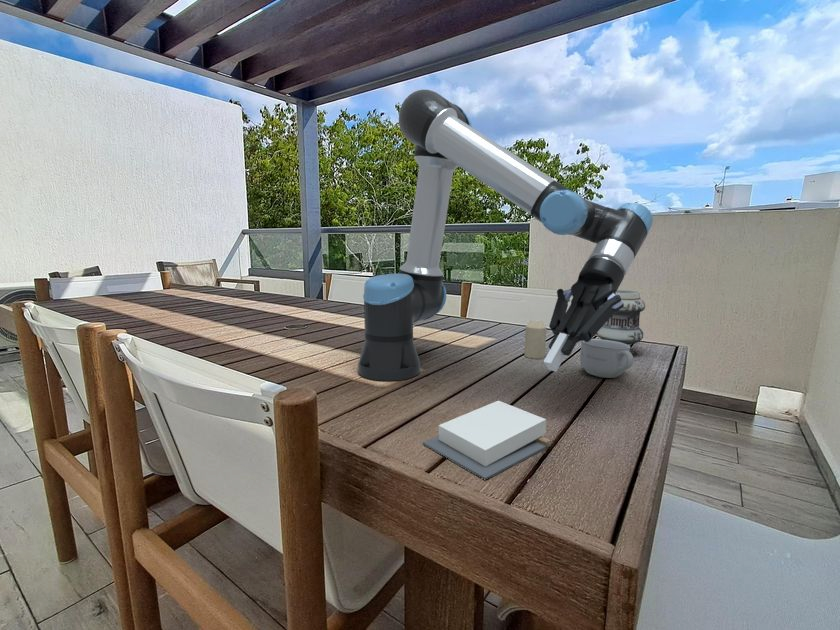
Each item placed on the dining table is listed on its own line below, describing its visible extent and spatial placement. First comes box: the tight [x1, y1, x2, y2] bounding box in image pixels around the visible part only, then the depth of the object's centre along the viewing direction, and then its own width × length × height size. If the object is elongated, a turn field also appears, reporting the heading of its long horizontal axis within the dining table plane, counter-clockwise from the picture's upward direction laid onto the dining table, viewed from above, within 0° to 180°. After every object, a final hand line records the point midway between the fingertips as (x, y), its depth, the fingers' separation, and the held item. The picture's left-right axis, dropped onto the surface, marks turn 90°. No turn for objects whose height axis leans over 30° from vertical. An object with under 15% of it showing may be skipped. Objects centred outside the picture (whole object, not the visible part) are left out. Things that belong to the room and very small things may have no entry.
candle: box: [523, 320, 547, 360], centre depth 116 cm, size 6×6×10 cm
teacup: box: [579, 338, 634, 379], centre depth 99 cm, size 14×11×8 cm
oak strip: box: [534, 436, 552, 449], centre depth 70 cm, size 1×13×1 cm, turn 40°
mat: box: [422, 435, 548, 481], centre depth 65 cm, size 15×13×1 cm
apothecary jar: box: [596, 289, 646, 357], centre depth 120 cm, size 12×12×18 cm
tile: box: [437, 400, 547, 466], centre depth 66 cm, size 3×10×14 cm
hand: (549, 366), depth 74 cm, fingers closed
